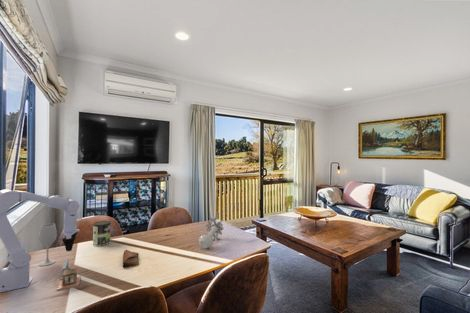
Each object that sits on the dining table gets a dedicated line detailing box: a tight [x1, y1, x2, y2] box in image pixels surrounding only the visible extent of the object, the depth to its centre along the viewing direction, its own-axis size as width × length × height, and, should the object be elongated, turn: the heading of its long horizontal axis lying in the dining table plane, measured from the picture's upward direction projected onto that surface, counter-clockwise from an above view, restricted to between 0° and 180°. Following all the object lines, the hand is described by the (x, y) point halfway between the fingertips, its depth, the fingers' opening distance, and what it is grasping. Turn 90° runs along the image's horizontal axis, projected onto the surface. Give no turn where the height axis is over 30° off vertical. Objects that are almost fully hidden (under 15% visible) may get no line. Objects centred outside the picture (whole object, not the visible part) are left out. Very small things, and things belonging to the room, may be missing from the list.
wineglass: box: [38, 222, 58, 267], centre depth 123 cm, size 8×8×21 cm
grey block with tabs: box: [59, 258, 71, 281], centre depth 111 cm, size 3×12×6 cm, turn 32°
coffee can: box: [92, 220, 112, 247], centre depth 152 cm, size 10×10×14 cm
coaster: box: [56, 275, 81, 291], centre depth 103 cm, size 8×8×1 cm
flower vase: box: [198, 216, 224, 250], centre depth 154 cm, size 13×18×25 cm
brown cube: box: [61, 267, 78, 286], centre depth 103 cm, size 5×5×5 cm
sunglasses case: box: [122, 249, 140, 269], centre depth 128 cm, size 18×7×7 cm, turn 26°
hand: (69, 248), depth 118 cm, fingers open, 7 cm apart
